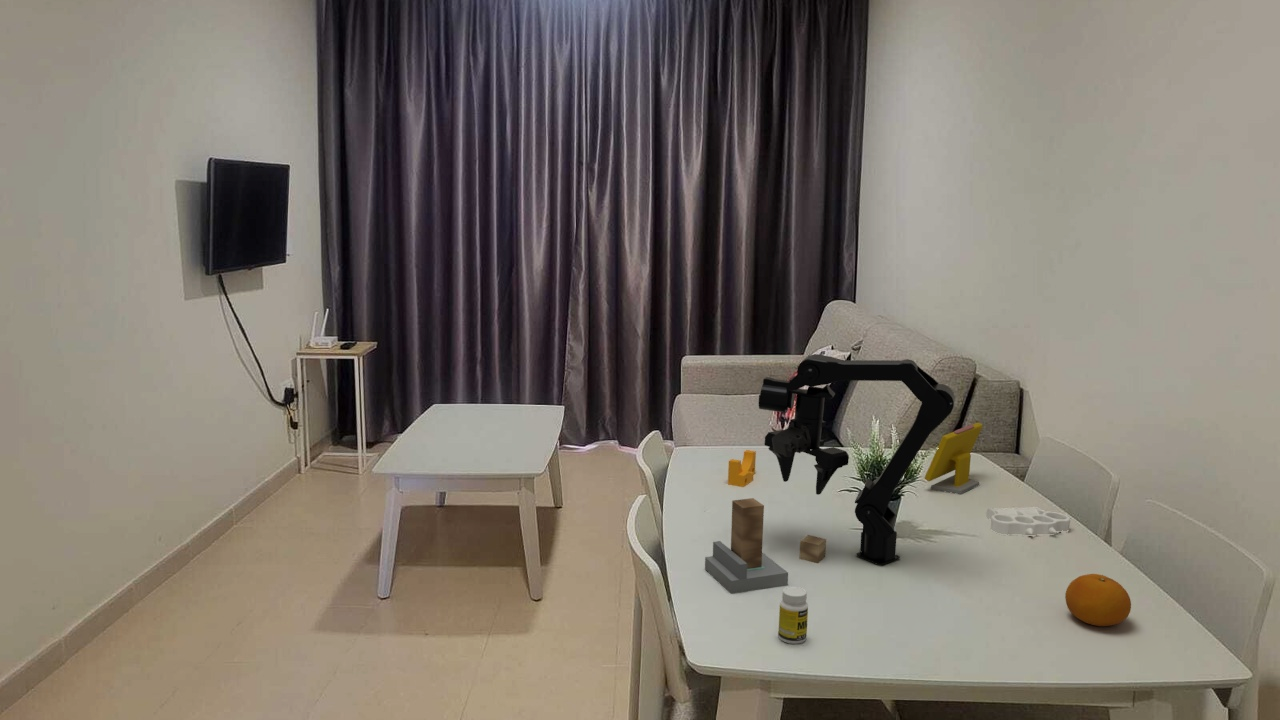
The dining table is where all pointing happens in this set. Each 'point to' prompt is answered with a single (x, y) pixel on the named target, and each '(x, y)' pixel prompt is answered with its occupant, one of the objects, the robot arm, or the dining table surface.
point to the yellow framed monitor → (954, 460)
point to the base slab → (743, 571)
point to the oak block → (812, 548)
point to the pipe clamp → (742, 469)
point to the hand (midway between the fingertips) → (801, 487)
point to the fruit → (1098, 600)
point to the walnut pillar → (747, 531)
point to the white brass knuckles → (1027, 521)
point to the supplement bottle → (793, 615)
